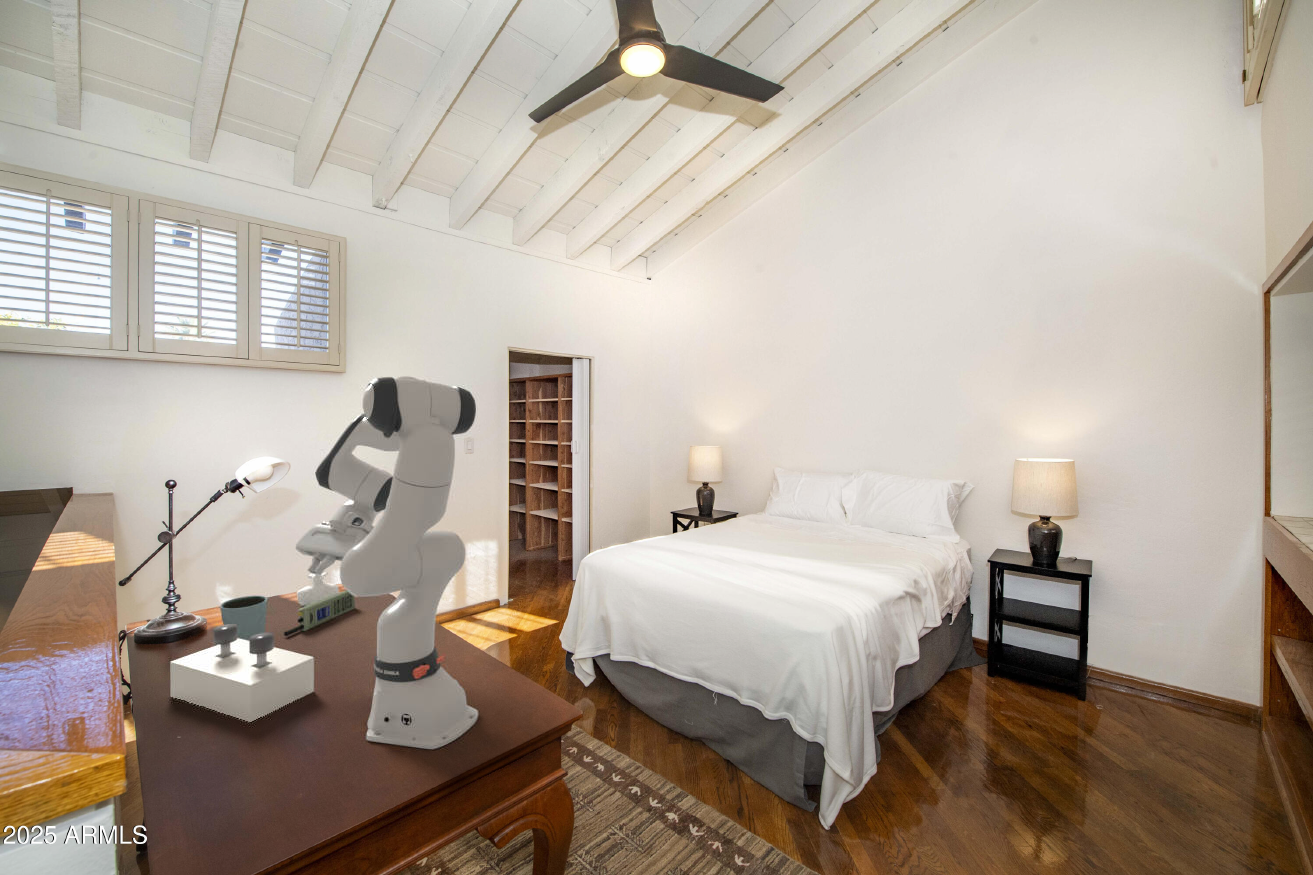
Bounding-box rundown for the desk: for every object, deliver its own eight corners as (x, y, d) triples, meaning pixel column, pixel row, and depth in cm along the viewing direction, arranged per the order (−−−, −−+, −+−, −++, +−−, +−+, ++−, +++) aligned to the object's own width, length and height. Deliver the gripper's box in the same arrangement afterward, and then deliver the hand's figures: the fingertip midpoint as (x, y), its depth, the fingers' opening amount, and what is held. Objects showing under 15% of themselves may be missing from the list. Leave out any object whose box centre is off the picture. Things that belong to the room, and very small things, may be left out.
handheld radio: (356, 608, 178) (290, 639, 153) (348, 608, 179) (280, 638, 154) (356, 588, 178) (289, 615, 153) (347, 588, 178) (280, 614, 154)
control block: (313, 691, 126) (313, 657, 125) (250, 722, 113) (250, 684, 112) (237, 669, 135) (237, 637, 134) (170, 696, 122) (170, 661, 121)
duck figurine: (338, 605, 186) (335, 574, 191) (341, 597, 181) (338, 565, 186) (296, 612, 178) (294, 580, 183) (298, 604, 173) (296, 571, 178)
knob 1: (242, 654, 127) (242, 625, 126) (221, 662, 123) (221, 632, 122) (229, 651, 128) (229, 622, 128) (208, 658, 124) (208, 629, 124)
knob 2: (278, 664, 123) (278, 634, 122) (258, 672, 118) (258, 641, 118) (264, 660, 124) (264, 631, 124) (244, 668, 120) (244, 638, 120)
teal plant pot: (276, 638, 153) (276, 596, 152) (245, 654, 143) (245, 609, 142) (243, 636, 154) (242, 594, 154) (210, 651, 144) (210, 606, 143)
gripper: (311, 514, 142) (274, 560, 133) (371, 521, 135) (336, 571, 126) (327, 528, 147) (292, 573, 138) (386, 536, 140) (352, 584, 131)
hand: (313, 572), depth 132 cm, fingers closed
